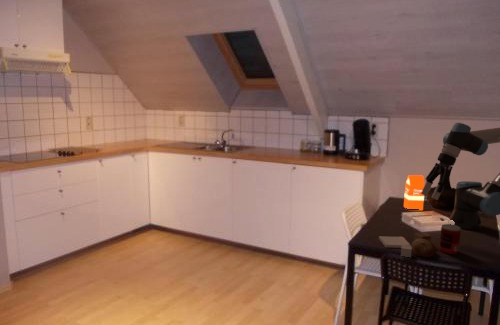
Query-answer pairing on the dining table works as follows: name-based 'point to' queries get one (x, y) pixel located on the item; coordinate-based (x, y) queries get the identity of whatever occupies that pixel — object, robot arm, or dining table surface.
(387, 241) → the plate
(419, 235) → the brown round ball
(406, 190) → the orange juice
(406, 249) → the grey block
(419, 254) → the bread roll
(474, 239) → the dining table surface
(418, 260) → the dining table surface
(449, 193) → the glass bottle
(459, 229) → the canned food
